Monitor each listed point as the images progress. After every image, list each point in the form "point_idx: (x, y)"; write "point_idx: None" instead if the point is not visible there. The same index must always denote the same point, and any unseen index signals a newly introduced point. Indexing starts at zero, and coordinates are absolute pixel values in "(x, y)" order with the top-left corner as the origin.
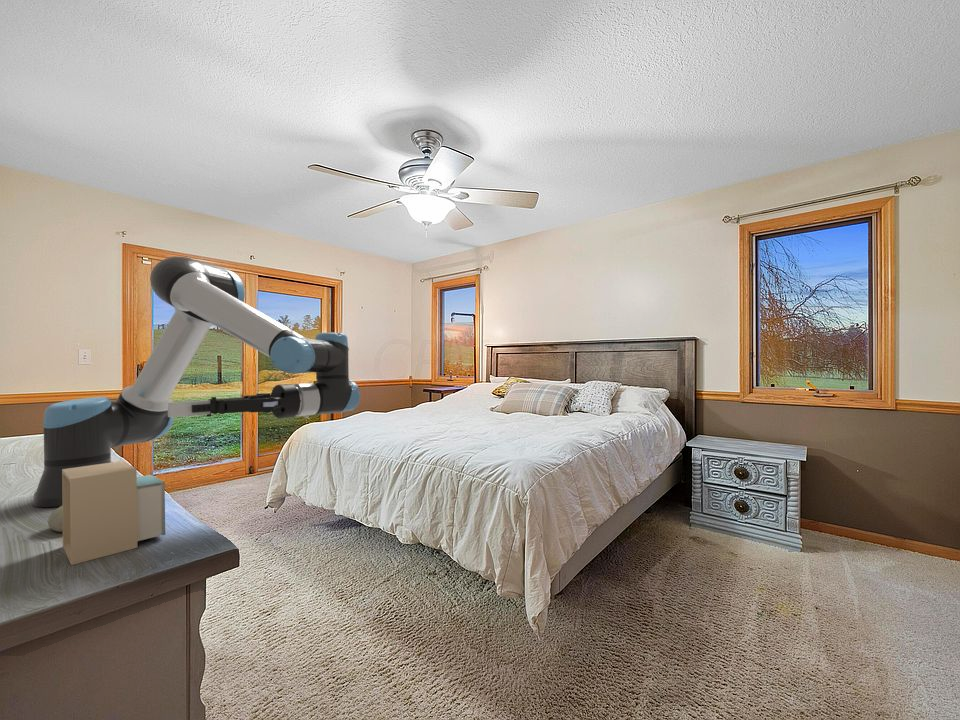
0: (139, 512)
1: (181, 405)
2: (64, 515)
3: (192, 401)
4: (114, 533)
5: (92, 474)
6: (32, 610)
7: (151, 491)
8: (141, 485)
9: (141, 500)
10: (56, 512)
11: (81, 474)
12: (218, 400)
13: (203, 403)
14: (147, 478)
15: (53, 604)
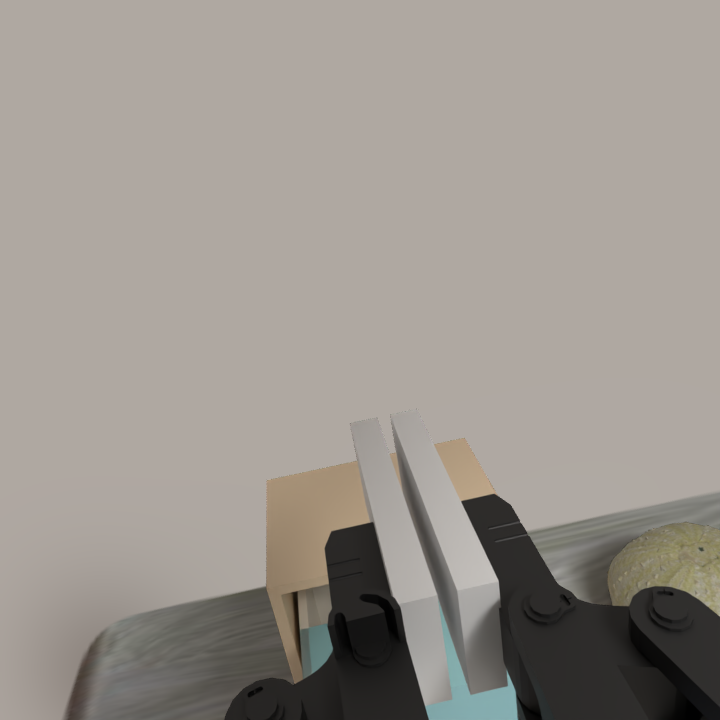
0: None
1: (362, 478)
2: None
3: (372, 501)
4: None
5: (287, 505)
6: (111, 639)
7: None
8: (318, 651)
9: None
10: (652, 530)
11: (316, 486)
12: (542, 692)
13: (386, 580)
14: (450, 659)
15: (102, 662)
